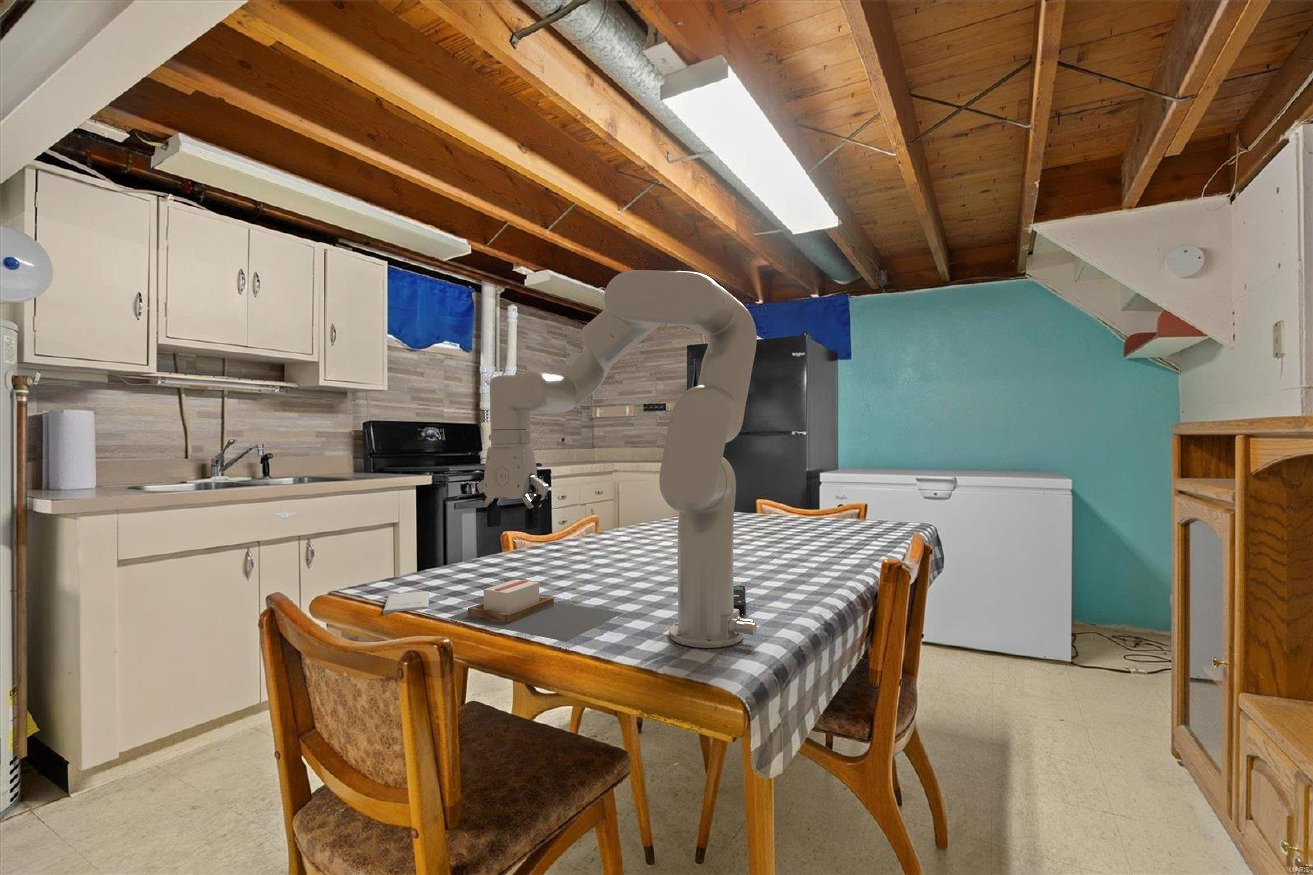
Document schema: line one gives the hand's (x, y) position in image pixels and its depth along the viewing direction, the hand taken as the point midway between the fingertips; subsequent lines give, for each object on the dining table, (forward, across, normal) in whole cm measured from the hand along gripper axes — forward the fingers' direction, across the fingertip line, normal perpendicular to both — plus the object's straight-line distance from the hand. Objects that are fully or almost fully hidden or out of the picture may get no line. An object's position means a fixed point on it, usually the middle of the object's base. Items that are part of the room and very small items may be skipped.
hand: (512, 527), depth 118 cm
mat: (+17, +5, 0) cm, 18 cm away
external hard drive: (+17, -24, -5) cm, 30 cm away
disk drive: (+18, +33, +25) cm, 45 cm away
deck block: (+16, 0, 0) cm, 16 cm away
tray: (+16, 0, 0) cm, 16 cm away
